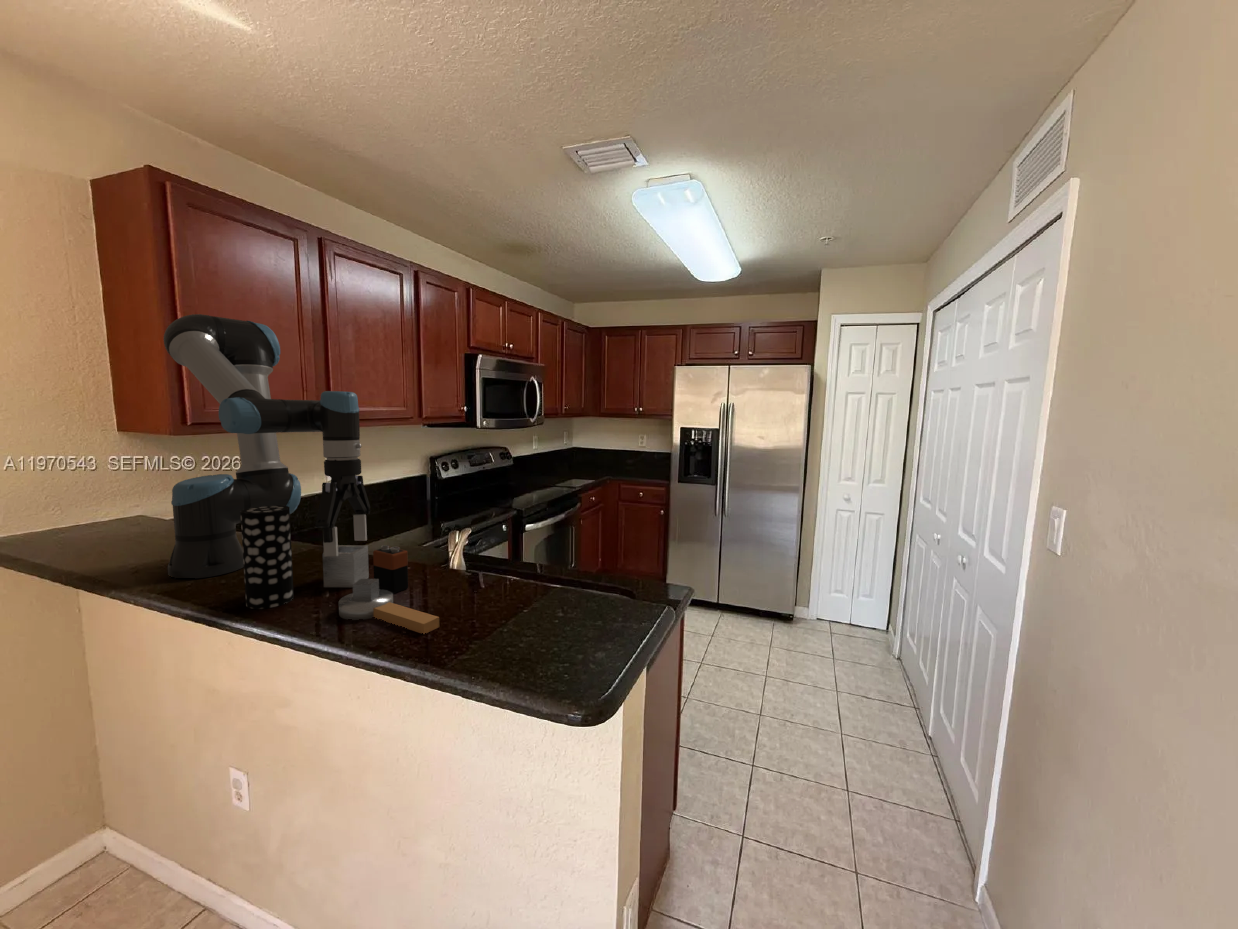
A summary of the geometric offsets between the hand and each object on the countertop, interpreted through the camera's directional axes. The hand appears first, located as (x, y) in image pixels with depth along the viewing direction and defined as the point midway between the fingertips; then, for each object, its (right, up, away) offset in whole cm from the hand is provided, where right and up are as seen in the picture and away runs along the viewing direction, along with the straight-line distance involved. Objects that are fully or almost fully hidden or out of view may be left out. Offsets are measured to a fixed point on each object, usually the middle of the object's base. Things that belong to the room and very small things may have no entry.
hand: (346, 547), depth 115 cm
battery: (+12, -9, -2) cm, 15 cm away
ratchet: (+18, -11, -17) cm, 28 cm away
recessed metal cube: (-1, -8, +1) cm, 8 cm away
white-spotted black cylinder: (-10, -10, -11) cm, 18 cm away
